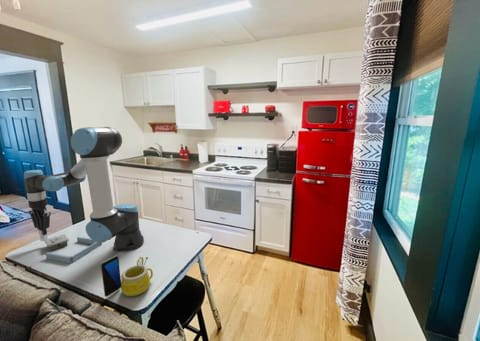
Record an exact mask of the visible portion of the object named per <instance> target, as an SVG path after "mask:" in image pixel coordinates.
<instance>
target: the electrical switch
mask: <svg viewBox="0 0 480 341" xmlns="http://www.w3.org/2000/svg"><path fill="white" fill-rule="evenodd" d="M69 241H70V240H69V238H68V237H67V235H66V234H61V235H58V236H54V237H50V238H48V239H46V240H44V241H43V242H44V244H46V246H47V248H48V249H49V251H50V252H51V251H55V250H57V249H61V248H64V247H68V242H69Z"/></svg>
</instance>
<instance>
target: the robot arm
mask: <svg viewBox="0 0 480 341" xmlns="http://www.w3.org/2000/svg"><path fill="white" fill-rule="evenodd" d="M70 144H71V146H70V147H71V149H72V150H73V151H74V153H76V154H77V155H79V158H80V160H79V161H78V162H77V163H76V164H75V165H74V166H73V167H71V169H69V171H66V172H61V173H57V174H52V175H51V174H50V175H44V173H43V171H42V170H41V169H31V170H25V171H24V172H23V177H24V178H23V181H24V186H25V190H26V197H27V200H28V203H27V204H28V207H29V209H31V210H28V211H27V212H28V214H29V215H30V218H31V221H32V224H33V226H34V228H35V229H37V230H38V234H39V240H40V242H44V240H46V239H49V238H48V230H47V229H49V228H50V223H51V221H50V220H51V214H52V212H51V211H48V209H47V205H48V199H47V193H46V192H59V191H60V190H62V189H63V188H64V187H68V186H73V185H78V184H80V183H83V182H85V181H86V178H87V183H88V188H89V196H90V201H91V207H92V212H91V213H90V214H89V218H90V221H89V222H87V224H86V226H85V233H86V235H87V237H88V238H90V239H92V240H93V241H95V242H98V243H102V244H103V243H105V242H107V241H110V240H111V239H112V238H114V241H113V248H114V250H115V251H116V252H117V251H118V252H128V251H134V250H136V249H138V248H140V247H142V246H143V245H144V243H145V240H144V238H145V237H144V235H142V234H143V233H142V232H141V229H140V219H139V208H138V206H137V205H136V204H133V203H121V204H116V205H114V204H113V203H114V202H113V195H112V187H111V179H110V175H109V166H108V161H107V159H109V158H110V156H113V155H115V153H116V152H118V150H119V149H120V148H121V147H122V144H123V136H122V134H121V133H120V132H119V130H117V129H115V128H113V127H110V126H104V127H101V126H100V127H99V126H98V127H97V126H96V127H95V126H94V127H93V126H91V127H90V126H88V127H80V128H78V129H76V130H75V131H74V132H73V133H72V135H71V137H70Z"/></svg>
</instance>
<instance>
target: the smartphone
mask: <svg viewBox="0 0 480 341" xmlns="http://www.w3.org/2000/svg"><path fill="white" fill-rule="evenodd" d="M119 262H120V260H119V256H118V255H113V256H112V257H110V258H108V259H107V260H104V261H102V262H101V263H100V269H101V277H102V285H103V286H102V287H103V292H104V293H103V294H104V297H106V298H107V297H109V296H111V295H112V294H114V293H116V292H117V291H119V290H121V280H122V278H121V271H120V270H121V269H120V263H119Z"/></svg>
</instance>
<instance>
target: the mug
mask: <svg viewBox="0 0 480 341" xmlns="http://www.w3.org/2000/svg"><path fill="white" fill-rule="evenodd" d="M148 257H149V256H146V257H145V261H144V257H142V256H139V257H138V259H137V260H136V265H134V266H133V265H132V266H129V267H128V268H126V269H125V270H124V271H123V272H122V273H121V274H120V277H121V288H120V290H121V293H122V294H123V295H124V296H127V297H134V296H139V295H140V294H143V293H144V292H146V290H148V288H149V287H150V284H151V279H152V278H153V276H154V275H153V274H154V272H153V270H152V268H150V267H149V268H147V266H145V264H146V263H147V260H148V259H149V258H148ZM148 271H149V272H150V275H149V272H148Z"/></svg>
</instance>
